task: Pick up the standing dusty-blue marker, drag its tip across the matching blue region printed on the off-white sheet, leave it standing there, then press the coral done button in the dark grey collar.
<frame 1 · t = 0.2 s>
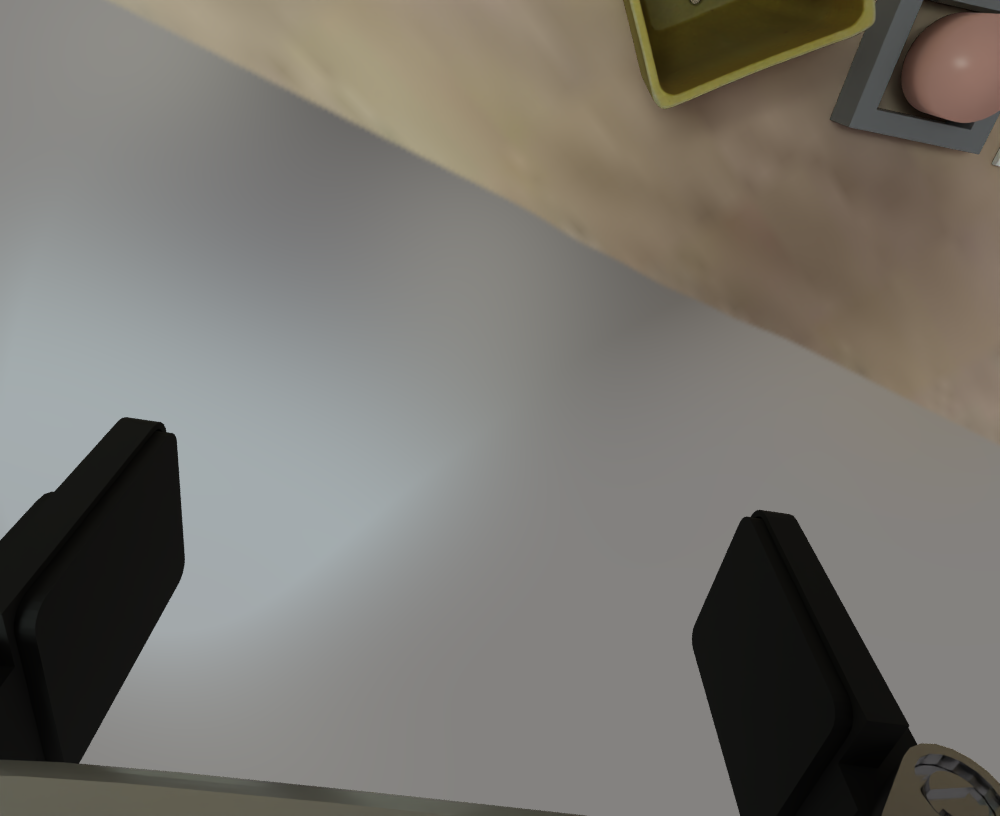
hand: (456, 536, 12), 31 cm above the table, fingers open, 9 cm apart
done button: (964, 67, 33), point 4 cm above the table, slide at 0.0 cm
button collar: (923, 60, 36), on the table
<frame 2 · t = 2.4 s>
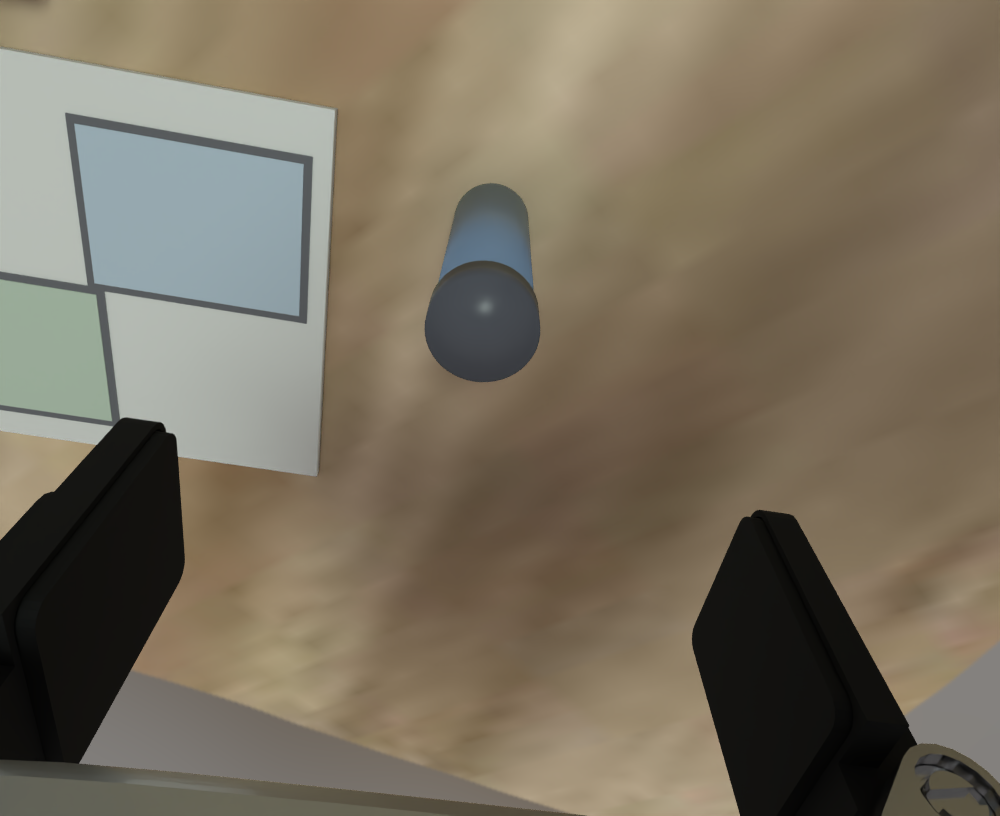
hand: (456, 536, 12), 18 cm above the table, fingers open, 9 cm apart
sheet: (113, 280, 29), on the table
marker: (491, 220, 27), on the table
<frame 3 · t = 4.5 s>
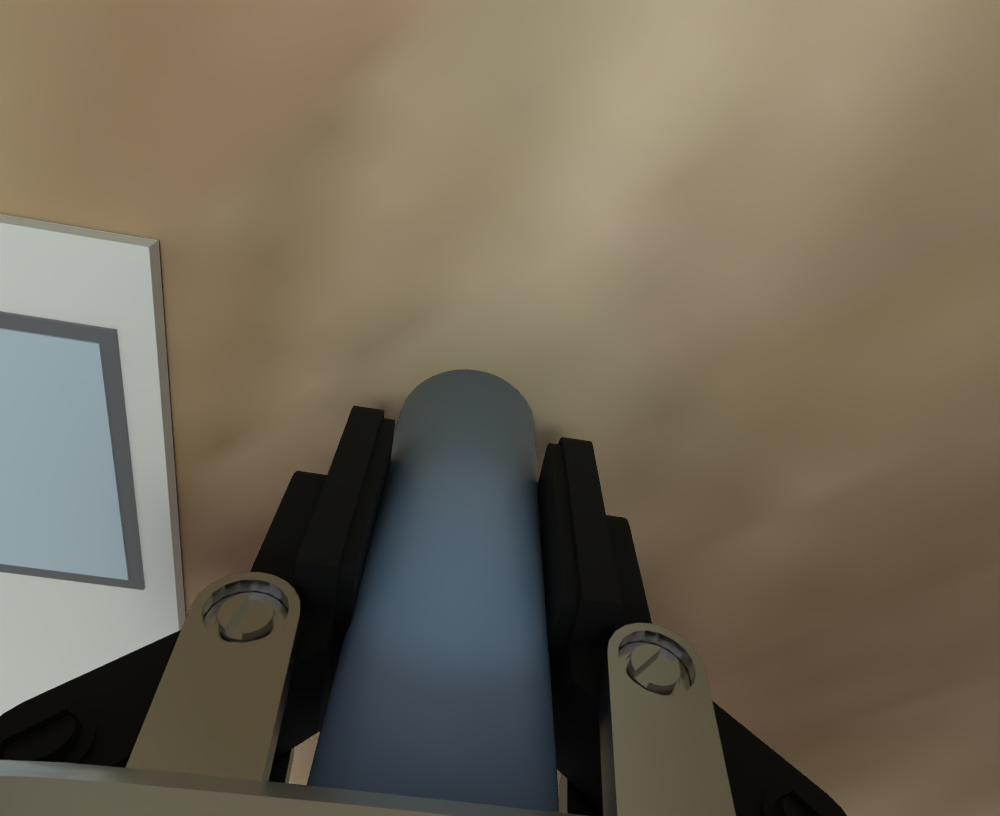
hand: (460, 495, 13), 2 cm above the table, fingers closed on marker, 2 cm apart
marker: (466, 430, 15), on the table, touching gripper
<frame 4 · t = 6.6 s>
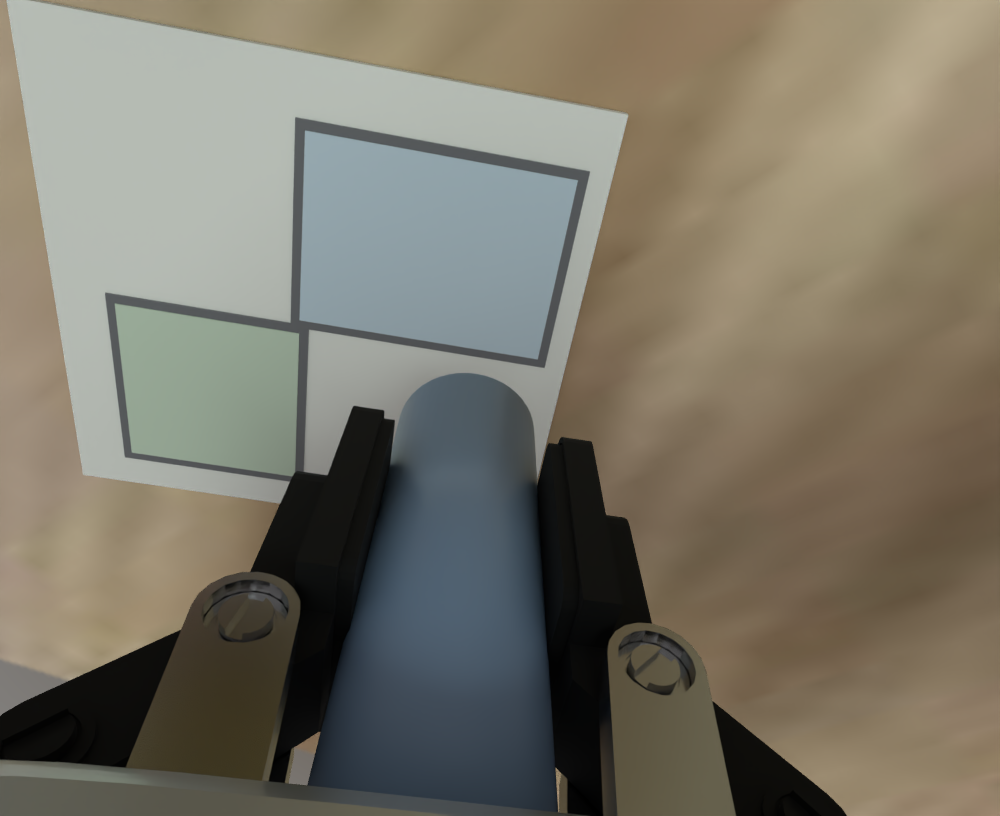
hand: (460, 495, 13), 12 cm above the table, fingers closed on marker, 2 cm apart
sheet: (318, 316, 24), on the table
marker: (466, 433, 15), point 10 cm above the table, touching gripper
when the fingers open (3 cm above the table, at t = 8.7 s): marker stays where it is, resting on sheet.
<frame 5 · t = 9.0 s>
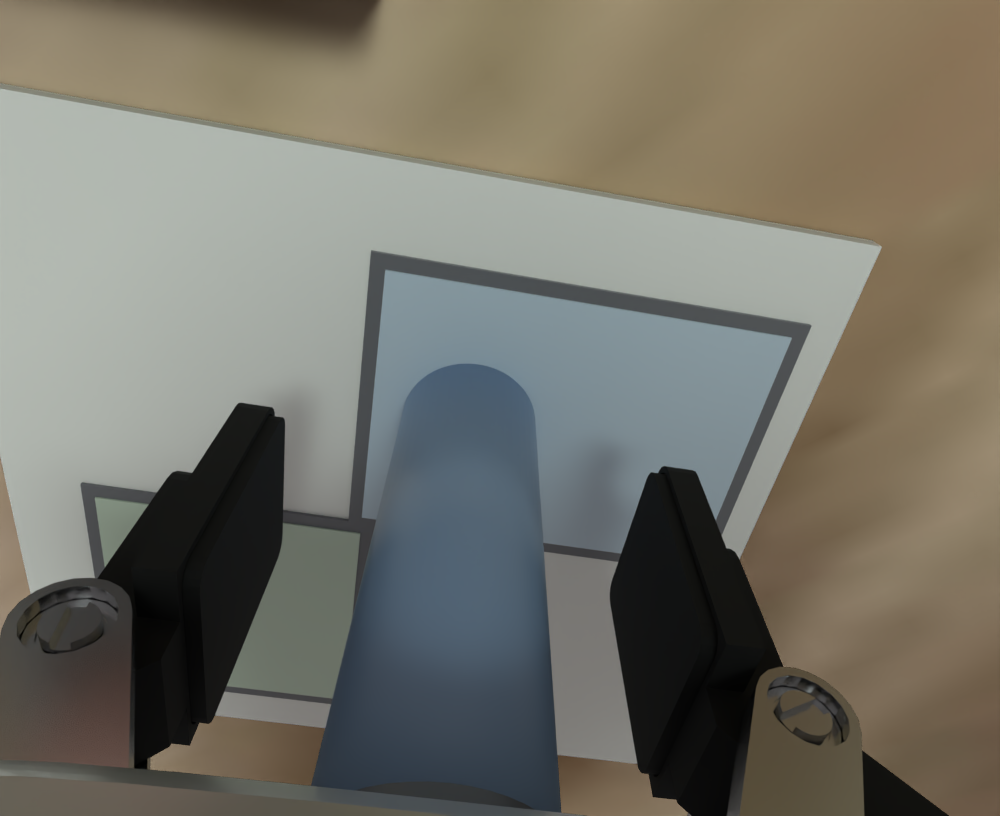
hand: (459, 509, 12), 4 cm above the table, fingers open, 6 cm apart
sheet: (386, 506, 17), on the table
marker: (468, 422, 15), point 1 cm above the table, touching sheet
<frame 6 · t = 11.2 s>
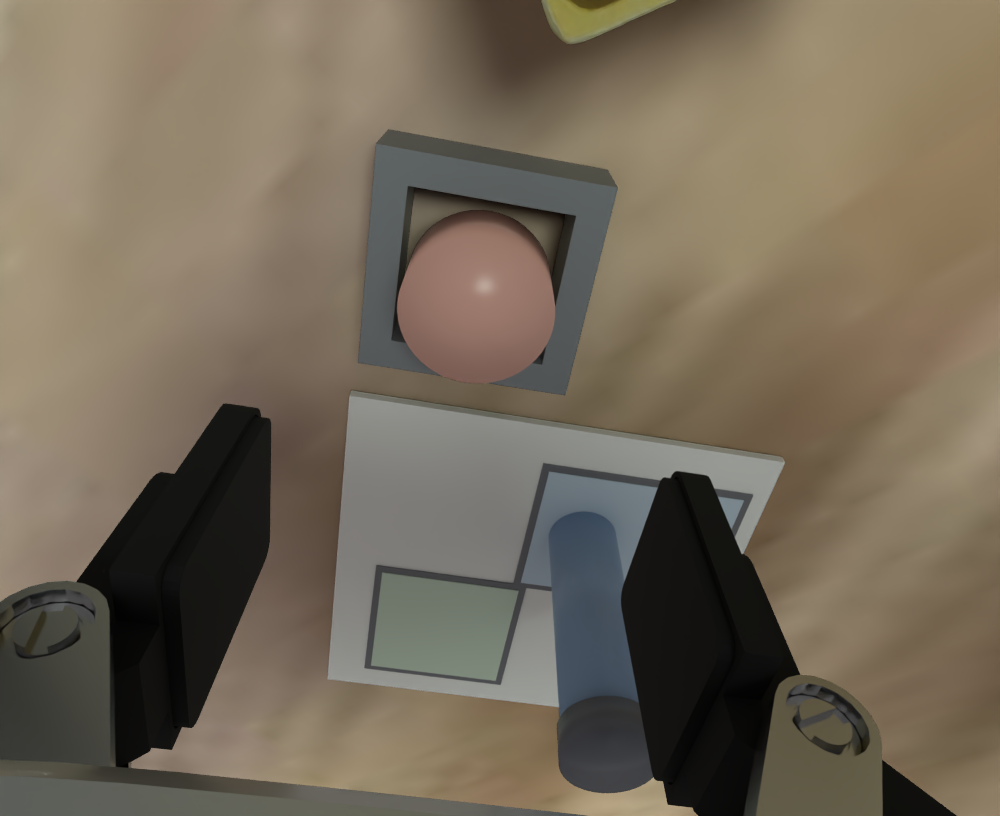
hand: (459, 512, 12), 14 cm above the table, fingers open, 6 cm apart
done button: (477, 296, 21), point 4 cm above the table, slide at 0.0 cm
sheet: (531, 575, 31), on the table
marker: (582, 537, 30), point 1 cm above the table, touching sheet
button collar: (481, 256, 24), on the table
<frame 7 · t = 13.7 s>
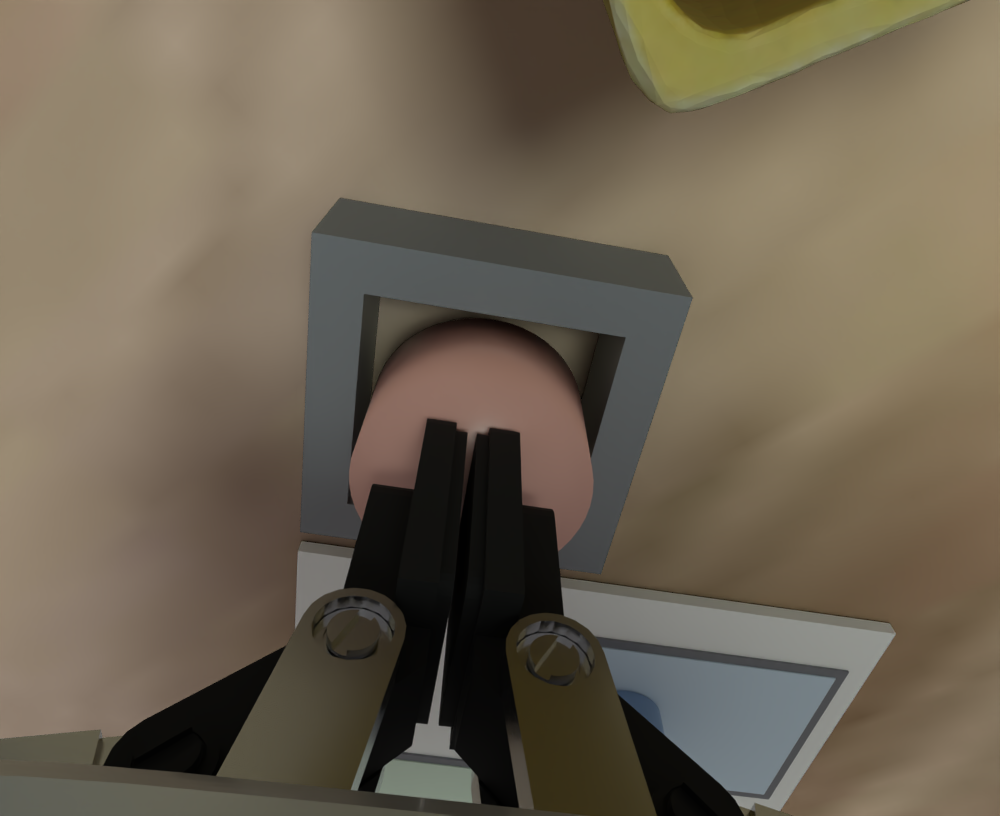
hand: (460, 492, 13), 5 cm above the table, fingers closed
done button: (474, 448, 14), point 3 cm above the table, slide at 0.5 cm, touching gripper
sheet: (547, 754, 24), on the table
marker: (615, 719, 22), point 1 cm above the table, touching sheet
button collar: (480, 372, 17), on the table
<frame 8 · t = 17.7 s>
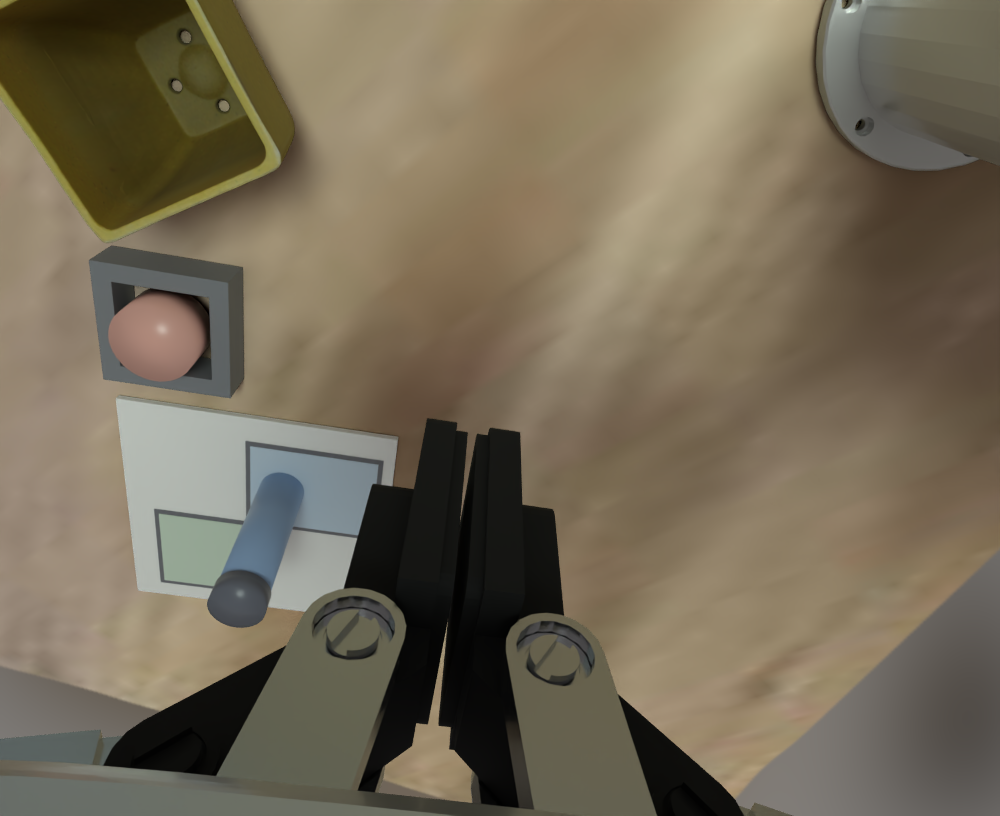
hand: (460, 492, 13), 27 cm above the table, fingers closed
done button: (162, 334, 38), point 3 cm above the table, slide at 1.1 cm
sheet: (260, 516, 48), on the table
marker: (282, 490, 46), point 1 cm above the table, touching sheet
button collar: (180, 315, 40), on the table
flower pot: (210, 73, 34), on the table
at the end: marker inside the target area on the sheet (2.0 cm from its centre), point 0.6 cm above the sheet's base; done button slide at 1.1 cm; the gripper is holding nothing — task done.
